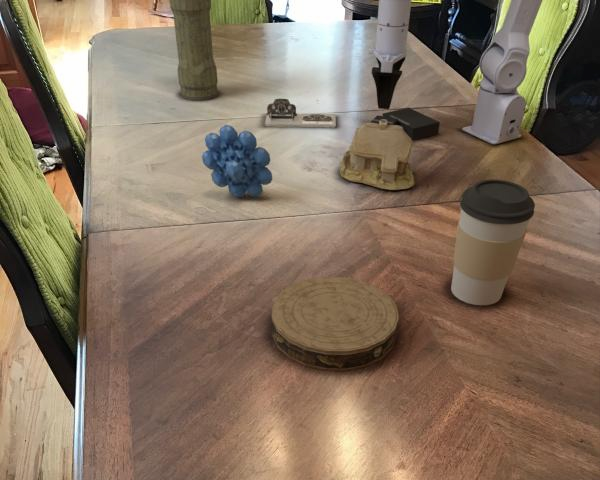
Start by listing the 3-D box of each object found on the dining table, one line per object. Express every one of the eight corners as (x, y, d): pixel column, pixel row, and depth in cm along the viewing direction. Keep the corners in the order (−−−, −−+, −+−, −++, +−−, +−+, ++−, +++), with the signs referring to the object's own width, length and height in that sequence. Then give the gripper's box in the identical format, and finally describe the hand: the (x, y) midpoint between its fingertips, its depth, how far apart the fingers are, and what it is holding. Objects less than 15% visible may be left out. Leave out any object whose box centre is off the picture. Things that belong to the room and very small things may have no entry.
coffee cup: (462, 266, 90) (484, 166, 80) (520, 289, 86) (551, 185, 76) (431, 293, 85) (450, 189, 75) (491, 318, 81) (520, 212, 70)
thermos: (225, 100, 142) (210, -94, 118) (173, 101, 141) (148, -94, 117) (225, 87, 148) (211, -99, 124) (175, 88, 147) (152, -99, 123)
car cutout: (264, 126, 130) (264, 103, 127) (266, 115, 135) (266, 93, 132) (335, 127, 130) (336, 105, 127) (335, 116, 135) (336, 94, 131)
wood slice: (246, 329, 79) (244, 310, 77) (331, 282, 87) (332, 263, 85) (336, 389, 71) (338, 370, 68) (421, 331, 79) (425, 312, 77)
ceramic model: (419, 169, 115) (427, 113, 108) (411, 194, 107) (419, 136, 100) (346, 160, 118) (349, 105, 111) (332, 184, 110) (335, 127, 103)
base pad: (437, 134, 128) (439, 121, 126) (411, 141, 125) (413, 128, 123) (407, 119, 134) (408, 107, 132) (381, 125, 131) (382, 112, 129)
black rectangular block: (396, 133, 128) (398, 118, 126) (387, 143, 124) (389, 128, 122) (375, 130, 129) (377, 114, 127) (366, 140, 125) (367, 124, 123)
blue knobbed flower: (201, 207, 103) (193, 134, 95) (208, 189, 108) (201, 118, 100) (270, 210, 102) (268, 137, 94) (274, 192, 107) (272, 121, 99)
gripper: (374, 13, 118) (368, 88, 127) (367, 31, 108) (361, 112, 117) (411, 14, 117) (403, 91, 126) (407, 34, 107) (398, 115, 116)
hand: (385, 101), depth 122 cm, fingers open, 7 cm apart
